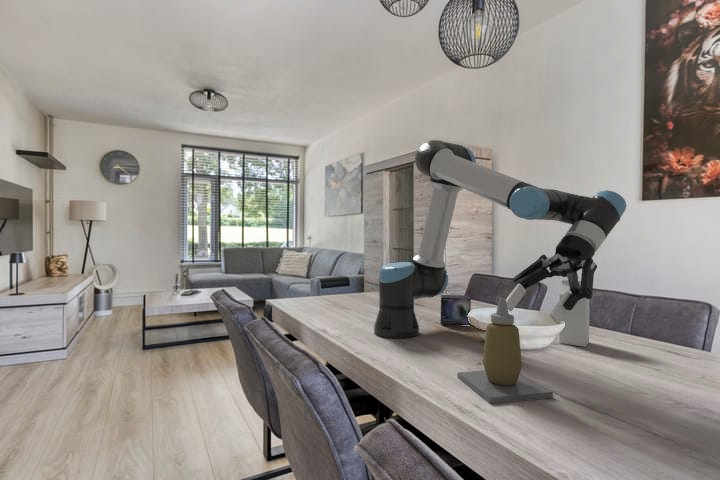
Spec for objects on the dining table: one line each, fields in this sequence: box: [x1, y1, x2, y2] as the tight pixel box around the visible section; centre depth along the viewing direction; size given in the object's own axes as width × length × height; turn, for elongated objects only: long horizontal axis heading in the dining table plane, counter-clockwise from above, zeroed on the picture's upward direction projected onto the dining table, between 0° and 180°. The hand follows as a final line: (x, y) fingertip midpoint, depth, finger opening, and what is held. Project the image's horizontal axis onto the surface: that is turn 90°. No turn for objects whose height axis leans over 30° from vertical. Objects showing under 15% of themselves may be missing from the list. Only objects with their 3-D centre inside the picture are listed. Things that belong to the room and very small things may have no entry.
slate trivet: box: [457, 369, 554, 404], centre depth 83 cm, size 14×14×1 cm
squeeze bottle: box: [482, 297, 523, 385], centre depth 83 cm, size 8×8×18 cm
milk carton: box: [558, 279, 590, 348], centre depth 118 cm, size 7×7×19 cm
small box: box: [439, 294, 472, 326], centre depth 142 cm, size 11×6×10 cm, turn 80°
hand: (528, 313), depth 85 cm, fingers open, 13 cm apart
